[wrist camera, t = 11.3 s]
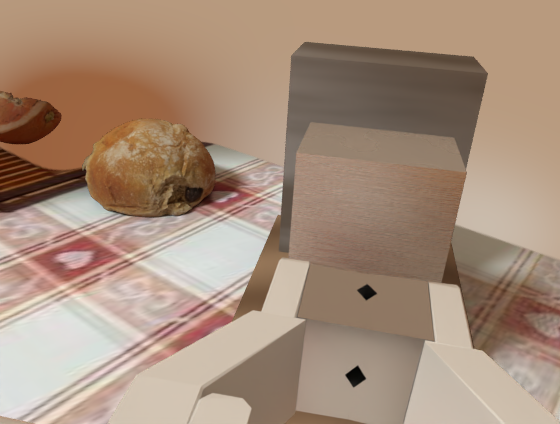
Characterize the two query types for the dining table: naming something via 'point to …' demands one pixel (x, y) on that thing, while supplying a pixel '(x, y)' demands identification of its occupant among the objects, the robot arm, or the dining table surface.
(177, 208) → the bread roll
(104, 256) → the dining table surface
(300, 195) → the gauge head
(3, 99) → the fruit slice
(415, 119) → the base
